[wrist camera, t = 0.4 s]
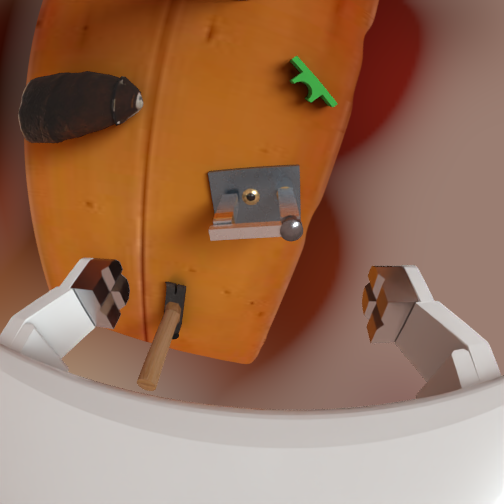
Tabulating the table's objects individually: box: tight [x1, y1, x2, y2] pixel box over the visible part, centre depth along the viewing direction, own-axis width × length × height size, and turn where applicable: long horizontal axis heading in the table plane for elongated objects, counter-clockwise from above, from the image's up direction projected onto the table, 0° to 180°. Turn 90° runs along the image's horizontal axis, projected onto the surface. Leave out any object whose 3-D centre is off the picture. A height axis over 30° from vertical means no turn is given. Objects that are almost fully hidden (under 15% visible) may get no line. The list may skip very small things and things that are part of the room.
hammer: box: [137, 282, 186, 391], centre depth 63 cm, size 20×5×30 cm, turn 166°
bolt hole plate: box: [208, 165, 300, 224], centre depth 57 cm, size 12×18×1 cm, turn 95°
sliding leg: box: [213, 193, 239, 225], centre depth 51 cm, size 3×3×13 cm
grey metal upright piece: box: [209, 188, 303, 241], centre depth 50 cm, size 4×15×15 cm, turn 95°
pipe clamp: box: [290, 56, 337, 107], centre depth 42 cm, size 11×4×5 cm, turn 42°
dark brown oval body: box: [18, 71, 143, 143], centre depth 41 cm, size 15×15×25 cm
